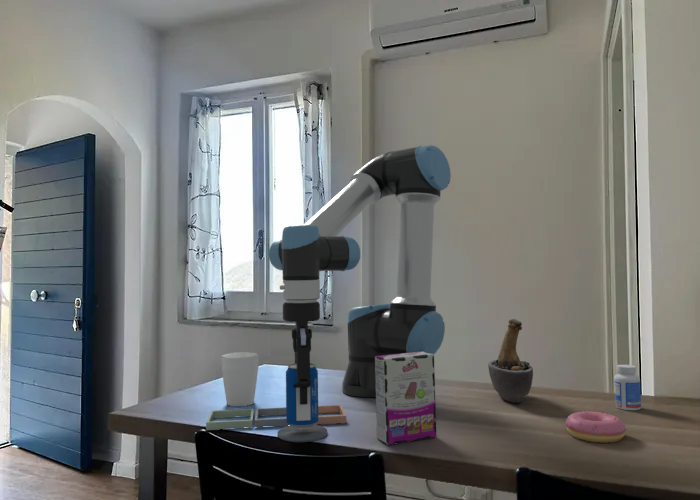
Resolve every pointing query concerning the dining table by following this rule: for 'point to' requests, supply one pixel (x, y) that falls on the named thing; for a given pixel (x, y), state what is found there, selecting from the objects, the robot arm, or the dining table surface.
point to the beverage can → (291, 397)
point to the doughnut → (595, 427)
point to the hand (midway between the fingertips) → (302, 414)
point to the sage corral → (229, 424)
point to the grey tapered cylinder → (240, 377)
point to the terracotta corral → (331, 419)
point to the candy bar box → (405, 397)
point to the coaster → (302, 433)
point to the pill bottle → (627, 388)
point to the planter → (511, 368)
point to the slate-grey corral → (270, 421)
